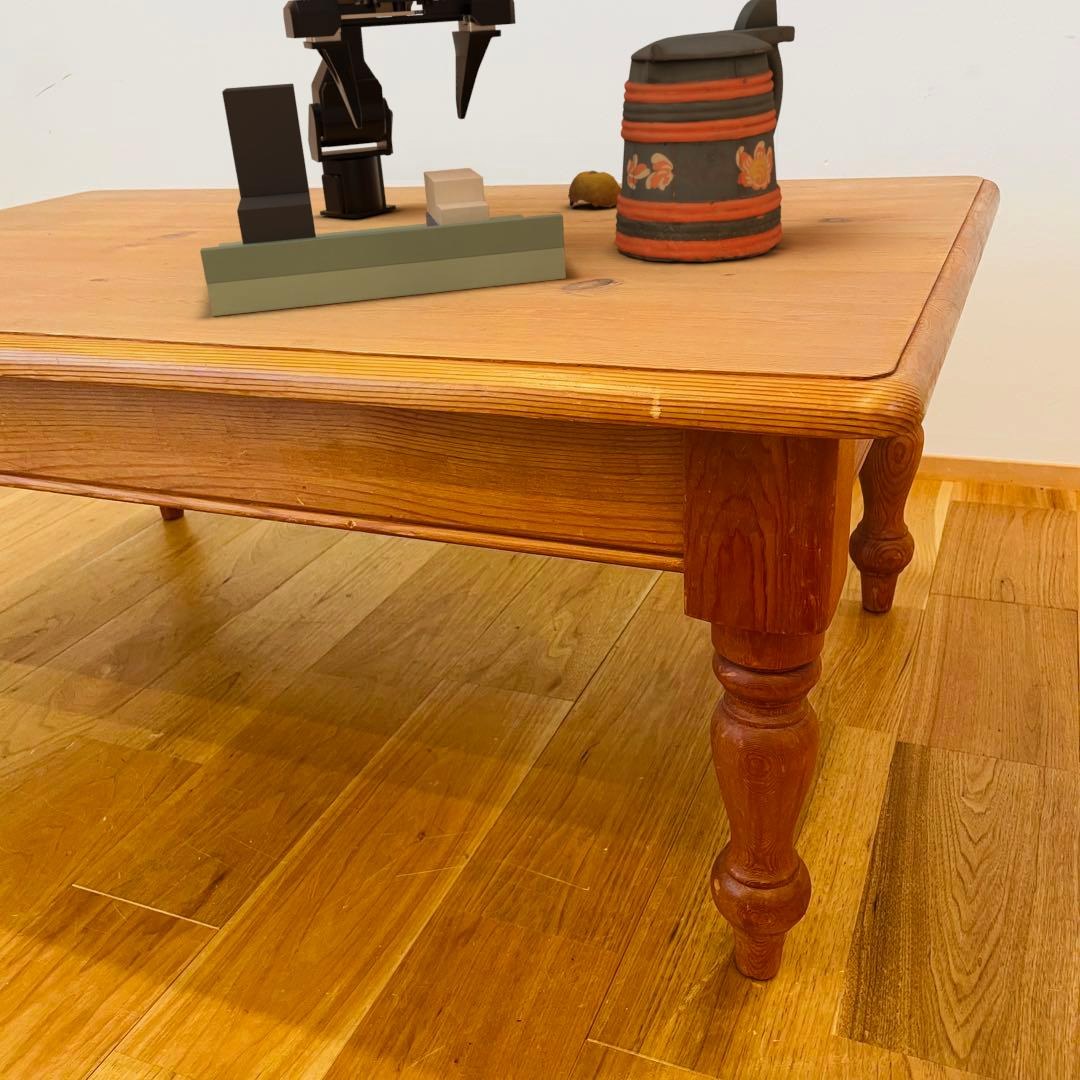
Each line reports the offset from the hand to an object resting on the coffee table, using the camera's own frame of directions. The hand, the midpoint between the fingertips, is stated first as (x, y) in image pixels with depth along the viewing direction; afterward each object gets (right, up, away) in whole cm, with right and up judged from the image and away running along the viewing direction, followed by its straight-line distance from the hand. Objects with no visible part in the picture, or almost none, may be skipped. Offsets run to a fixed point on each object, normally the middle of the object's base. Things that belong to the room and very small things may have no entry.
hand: (410, 123), depth 94 cm
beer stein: (+27, -10, +3) cm, 29 cm away
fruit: (+19, +1, +26) cm, 33 cm away
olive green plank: (-2, -14, -1) cm, 14 cm away
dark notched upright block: (-10, -13, -5) cm, 17 cm away
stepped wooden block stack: (+4, -10, 0) cm, 11 cm away
